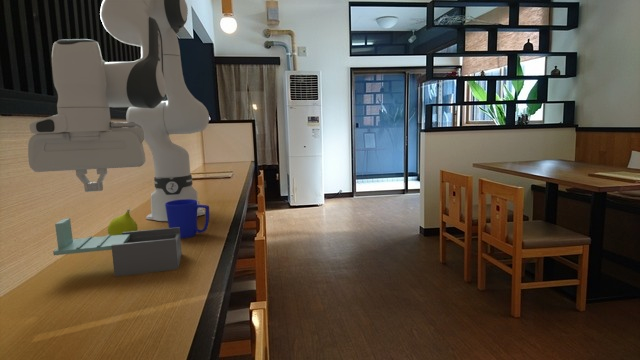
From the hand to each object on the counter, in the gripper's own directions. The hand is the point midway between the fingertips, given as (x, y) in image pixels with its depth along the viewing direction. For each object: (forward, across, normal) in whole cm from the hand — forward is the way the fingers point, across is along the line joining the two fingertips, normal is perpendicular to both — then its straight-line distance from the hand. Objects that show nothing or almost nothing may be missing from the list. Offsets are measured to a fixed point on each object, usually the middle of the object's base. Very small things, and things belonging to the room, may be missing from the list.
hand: (94, 190), depth 77 cm
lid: (+12, +1, +1) cm, 12 cm away
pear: (+18, +1, -22) cm, 29 cm away
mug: (+18, -16, -20) cm, 32 cm away
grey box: (+18, -9, +1) cm, 20 cm away
